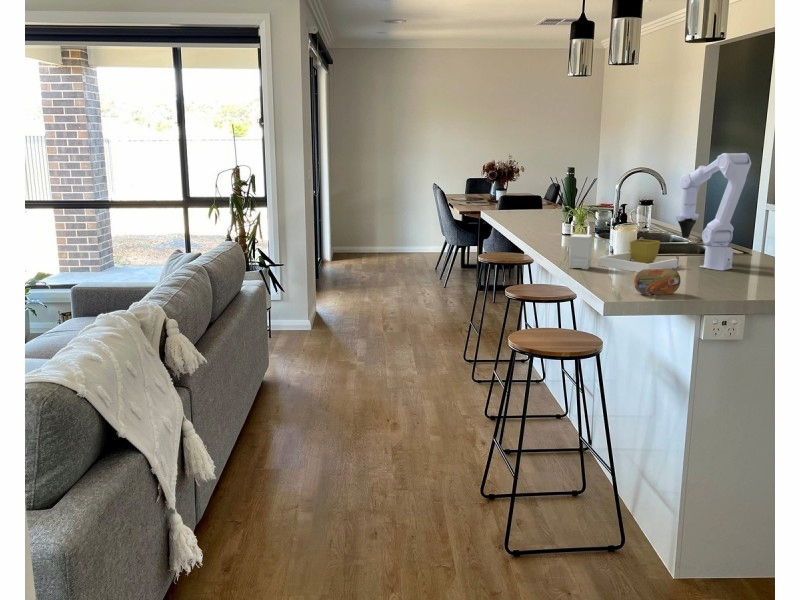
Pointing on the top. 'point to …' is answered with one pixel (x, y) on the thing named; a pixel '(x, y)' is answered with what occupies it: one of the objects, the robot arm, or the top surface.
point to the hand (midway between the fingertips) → (685, 237)
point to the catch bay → (634, 263)
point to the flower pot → (644, 250)
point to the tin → (657, 281)
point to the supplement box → (580, 251)
